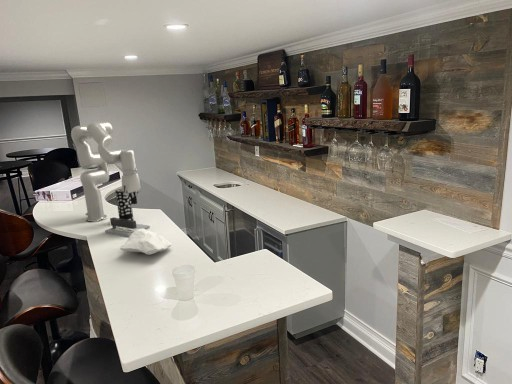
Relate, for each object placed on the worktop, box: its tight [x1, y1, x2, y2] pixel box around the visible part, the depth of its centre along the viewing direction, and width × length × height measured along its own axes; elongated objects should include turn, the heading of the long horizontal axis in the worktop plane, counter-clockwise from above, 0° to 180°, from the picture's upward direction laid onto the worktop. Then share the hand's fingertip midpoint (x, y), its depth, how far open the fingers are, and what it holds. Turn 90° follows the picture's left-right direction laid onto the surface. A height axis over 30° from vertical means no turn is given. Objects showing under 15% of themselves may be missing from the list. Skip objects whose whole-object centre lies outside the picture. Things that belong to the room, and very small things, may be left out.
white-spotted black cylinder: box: [115, 188, 135, 221], centre depth 240 cm, size 8×8×20 cm
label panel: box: [104, 223, 151, 238], centre depth 224 cm, size 19×16×3 cm
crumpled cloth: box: [119, 228, 172, 255], centre depth 191 cm, size 24×35×9 cm
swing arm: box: [109, 217, 137, 229], centre depth 220 cm, size 19×3×4 cm, turn 61°
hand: (134, 203), depth 221 cm, fingers closed
